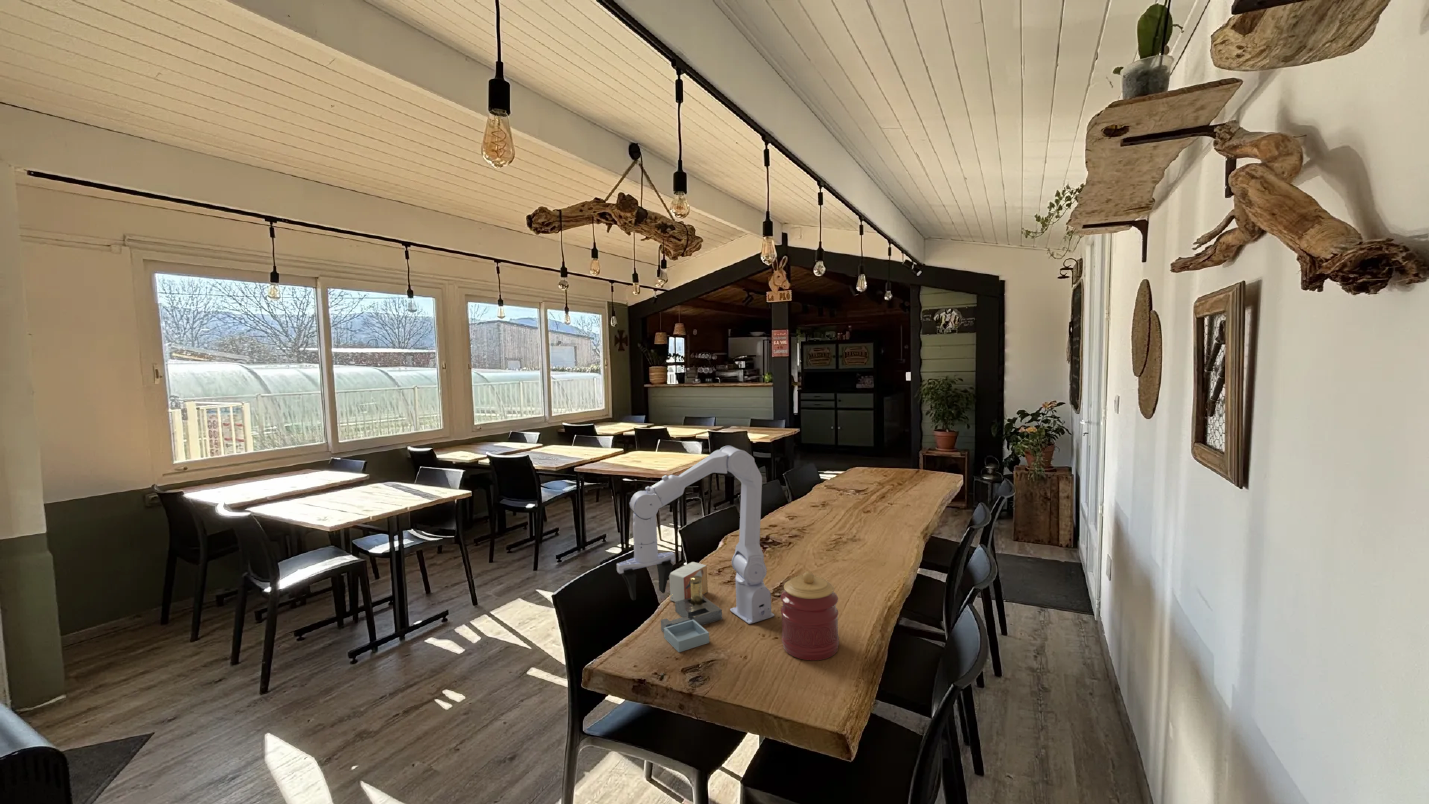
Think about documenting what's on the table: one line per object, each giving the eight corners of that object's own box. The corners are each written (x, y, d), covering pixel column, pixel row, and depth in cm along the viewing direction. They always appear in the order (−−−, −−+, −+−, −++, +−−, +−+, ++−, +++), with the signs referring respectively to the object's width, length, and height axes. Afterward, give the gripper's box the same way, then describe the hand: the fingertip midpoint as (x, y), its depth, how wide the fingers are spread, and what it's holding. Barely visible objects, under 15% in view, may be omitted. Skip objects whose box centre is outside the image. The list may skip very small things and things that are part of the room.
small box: (708, 591, 160) (685, 605, 152) (693, 587, 164) (669, 601, 155) (707, 564, 160) (683, 577, 151) (692, 560, 163) (668, 573, 155)
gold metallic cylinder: (705, 611, 148) (703, 578, 147) (694, 614, 146) (693, 581, 146) (699, 607, 151) (698, 574, 150) (689, 610, 149) (688, 577, 148)
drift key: (691, 627, 139) (690, 617, 139) (666, 635, 136) (666, 625, 136) (685, 622, 142) (685, 612, 142) (661, 630, 139) (660, 619, 138)
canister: (800, 627, 137) (798, 557, 136) (849, 643, 129) (847, 569, 128) (770, 650, 127) (768, 575, 126) (821, 668, 119) (819, 588, 118)
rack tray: (709, 642, 132) (708, 632, 131) (678, 652, 128) (678, 641, 127) (693, 629, 138) (693, 619, 138) (664, 637, 135) (663, 628, 134)
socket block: (722, 619, 143) (721, 609, 143) (694, 627, 139) (694, 617, 139) (701, 603, 153) (701, 594, 152) (675, 611, 149) (675, 601, 149)
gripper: (665, 531, 143) (668, 583, 144) (611, 542, 136) (614, 596, 137) (677, 538, 137) (679, 592, 138) (621, 550, 130) (624, 606, 131)
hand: (647, 595), depth 137 cm, fingers open, 7 cm apart
